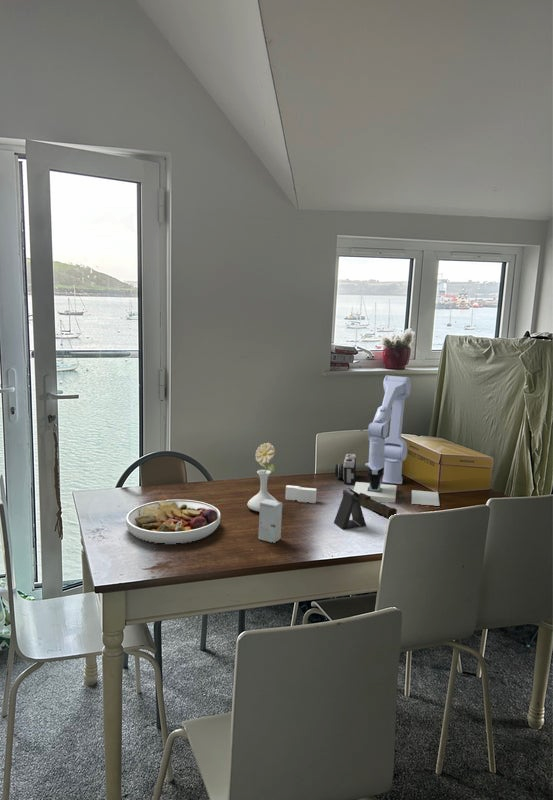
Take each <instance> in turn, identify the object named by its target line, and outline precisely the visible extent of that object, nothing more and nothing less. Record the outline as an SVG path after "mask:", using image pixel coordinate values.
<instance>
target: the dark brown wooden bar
mask: <svg viewBox="0 0 553 800" xmlns="http://www.w3.org/2000/svg"><path fill="white" fill-rule="evenodd" d="M359 496H360V498H359V503H360V506H361V508H364V509H369V510H372V511H374V512H376V513H378V514H380V515H382V516H384V517H387V519H388V518H389V517H390V516H391V515H394V514H396V515H397V514H398V510H397V509H396V508H395V507H390V506H388V505H386V504H384V503H382V502H377V501H374V500H372V499H370V498H371V497H370V496H368V495H366V494H363V493H360V494H359Z"/></svg>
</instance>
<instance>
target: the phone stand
mask: <svg viewBox="0 0 553 800" xmlns="http://www.w3.org/2000/svg"><path fill="white" fill-rule="evenodd" d="M353 490H354V489H351V488H350V487H348V488H347V487H345V488H343V491H342V498H341V502H340V504H339V507H338V509H337V512H336V515H335V519H334V521H333V524H335V525H336V526H338V527H339V528H340V529H341V530H349V529H350V530H351V529H356V528H358V529H359V528H363V527H366V526H367V524H366V520H365V517H364V513H363V510H362V506H361V505H360V503H359V498H360V496H359V494H358V493H357V492H355V491H353ZM351 517H352V519H350V518H351Z"/></svg>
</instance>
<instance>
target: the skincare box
mask: <svg viewBox="0 0 553 800" xmlns="http://www.w3.org/2000/svg"><path fill="white" fill-rule="evenodd" d="M258 515H259V516H258V517H259V518H258V519H259V520H258V536H257V538H258V540H261V541H264V542H268V543H272V542H273V544H274V543H276V541H277V542H278V541H280V540H281V538H282V536H281V535H282V519H283V518H282V517H283V502H281V501H278V500H277V501H275V500H269V499H265V500H263V501H262V502H260V511H259V514H258Z"/></svg>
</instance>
